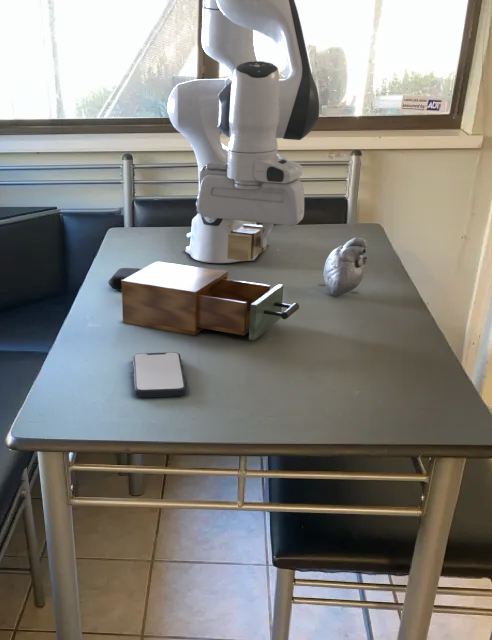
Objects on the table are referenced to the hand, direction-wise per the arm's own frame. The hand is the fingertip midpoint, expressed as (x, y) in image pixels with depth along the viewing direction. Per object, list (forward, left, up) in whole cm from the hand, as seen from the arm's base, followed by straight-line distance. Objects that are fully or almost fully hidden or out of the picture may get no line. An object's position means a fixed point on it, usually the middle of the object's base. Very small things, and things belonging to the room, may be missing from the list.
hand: (247, 245), depth 155 cm
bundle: (0, 0, -2) cm, 2 cm away
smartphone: (+31, -3, -16) cm, 35 cm away
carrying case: (-13, -31, -16) cm, 37 cm away
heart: (-28, +10, -16) cm, 34 cm away
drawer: (+2, +1, -15) cm, 15 cm away
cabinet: (+2, -15, -16) cm, 22 cm away
